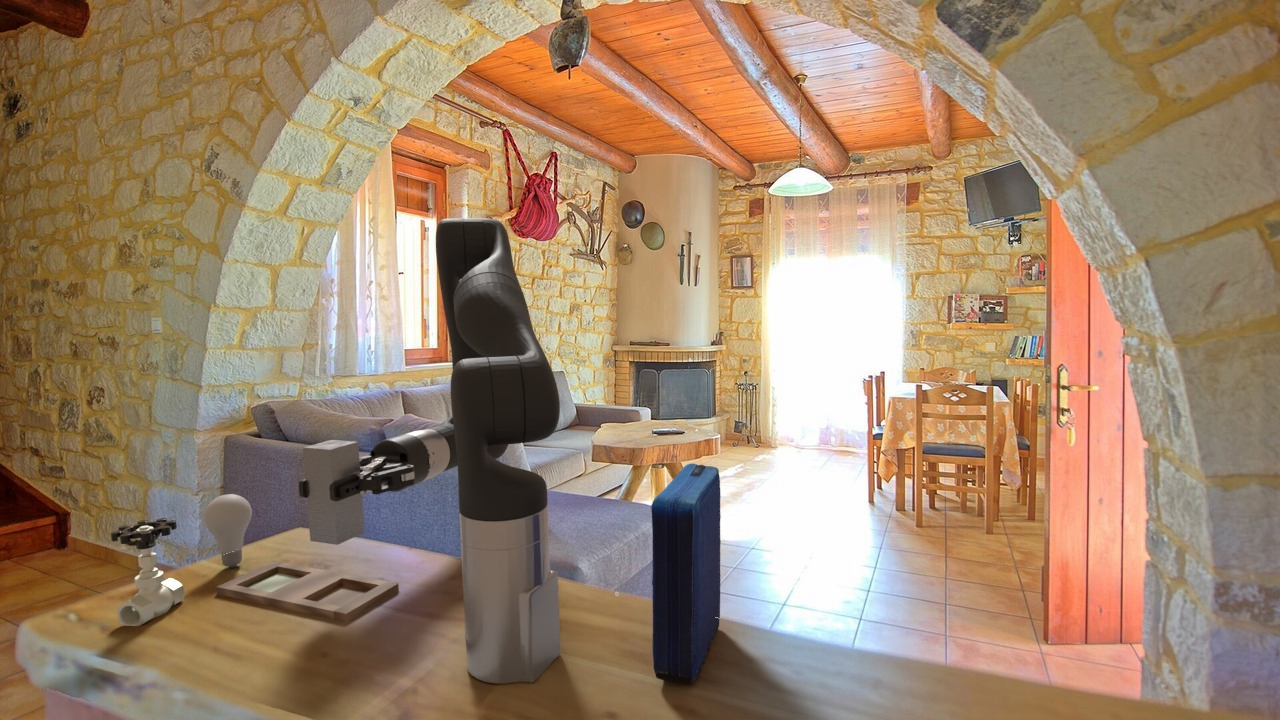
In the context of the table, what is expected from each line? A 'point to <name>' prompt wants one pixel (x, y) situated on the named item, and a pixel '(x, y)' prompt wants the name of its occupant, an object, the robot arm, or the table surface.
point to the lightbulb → (228, 525)
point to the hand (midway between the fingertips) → (317, 491)
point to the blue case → (686, 572)
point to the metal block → (321, 470)
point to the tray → (309, 590)
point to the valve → (148, 574)
